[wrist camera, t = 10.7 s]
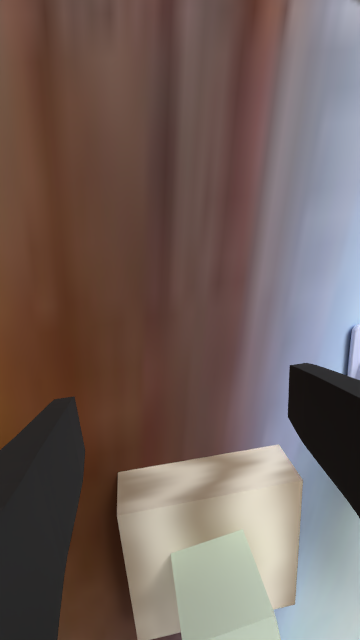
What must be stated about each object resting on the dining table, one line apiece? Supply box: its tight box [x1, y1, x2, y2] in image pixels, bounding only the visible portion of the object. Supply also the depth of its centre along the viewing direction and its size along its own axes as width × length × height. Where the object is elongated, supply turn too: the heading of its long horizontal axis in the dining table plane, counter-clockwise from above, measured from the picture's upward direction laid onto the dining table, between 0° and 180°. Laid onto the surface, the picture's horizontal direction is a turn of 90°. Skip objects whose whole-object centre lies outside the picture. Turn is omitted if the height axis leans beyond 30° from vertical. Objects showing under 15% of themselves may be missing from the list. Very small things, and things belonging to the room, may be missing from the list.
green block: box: [171, 529, 281, 640], centre depth 20 cm, size 5×5×5 cm
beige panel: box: [117, 445, 303, 640], centre depth 24 cm, size 12×12×4 cm
